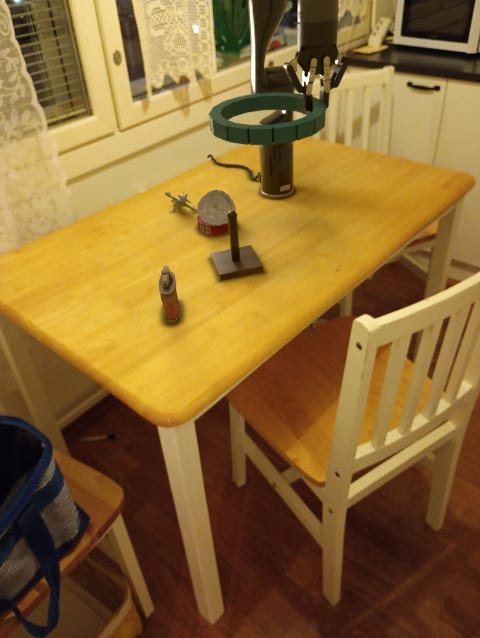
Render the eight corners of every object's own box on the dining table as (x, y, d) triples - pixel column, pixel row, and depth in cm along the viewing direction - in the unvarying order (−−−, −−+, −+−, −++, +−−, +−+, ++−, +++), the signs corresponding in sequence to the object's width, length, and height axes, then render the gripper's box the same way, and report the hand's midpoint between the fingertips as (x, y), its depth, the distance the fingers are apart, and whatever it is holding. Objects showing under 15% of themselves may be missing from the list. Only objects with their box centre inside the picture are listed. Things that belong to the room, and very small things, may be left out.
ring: (201, 116, 114) (199, 101, 113) (302, 101, 118) (302, 86, 116) (224, 152, 97) (223, 136, 95) (343, 133, 100) (344, 117, 98)
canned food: (235, 235, 142) (250, 206, 135) (218, 250, 134) (233, 220, 128) (201, 212, 143) (215, 182, 136) (182, 225, 135) (196, 194, 129)
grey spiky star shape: (194, 200, 151) (204, 201, 142) (185, 219, 151) (194, 221, 143) (164, 183, 146) (172, 182, 138) (154, 202, 147) (161, 203, 138)
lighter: (165, 301, 112) (157, 261, 106) (180, 300, 112) (174, 260, 106) (163, 325, 105) (155, 283, 99) (180, 323, 105) (173, 282, 99)
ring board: (210, 258, 124) (204, 205, 116) (251, 250, 126) (247, 197, 118) (220, 280, 117) (214, 225, 108) (263, 272, 118) (260, 216, 110)
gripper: (344, 9, 101) (340, 102, 112) (275, 17, 99) (278, 111, 110) (361, 14, 96) (354, 112, 106) (288, 23, 94) (289, 122, 104)
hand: (315, 111), depth 108 cm, fingers closed on ring, 2 cm apart
